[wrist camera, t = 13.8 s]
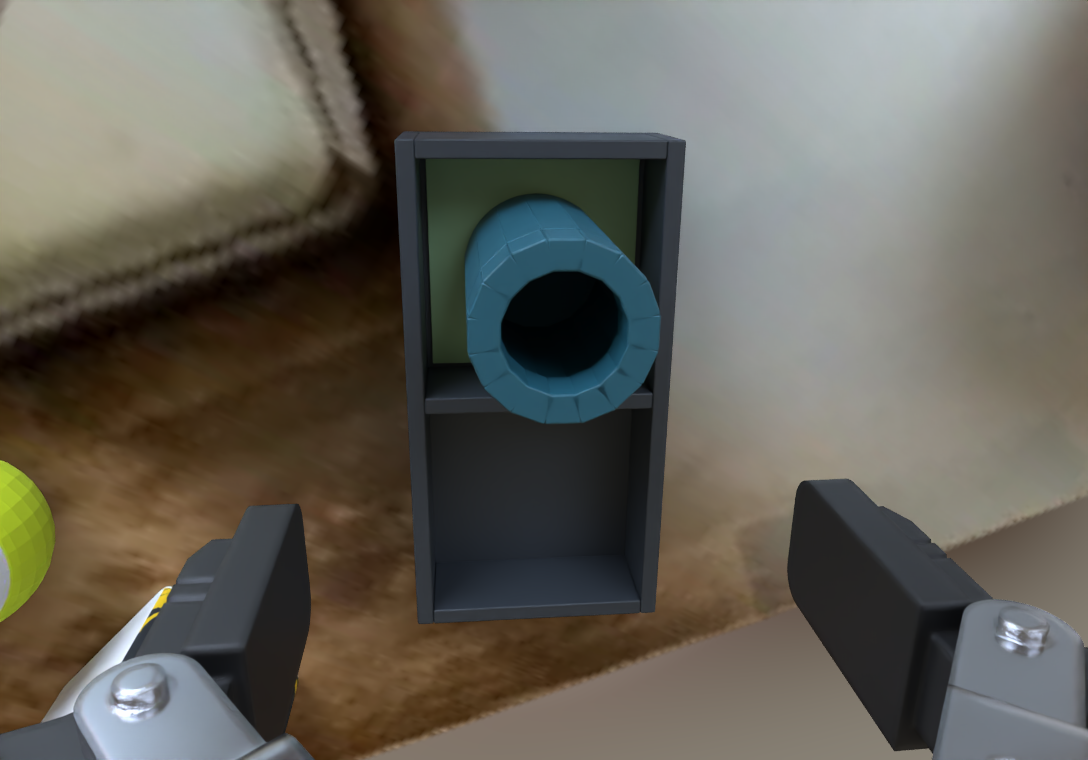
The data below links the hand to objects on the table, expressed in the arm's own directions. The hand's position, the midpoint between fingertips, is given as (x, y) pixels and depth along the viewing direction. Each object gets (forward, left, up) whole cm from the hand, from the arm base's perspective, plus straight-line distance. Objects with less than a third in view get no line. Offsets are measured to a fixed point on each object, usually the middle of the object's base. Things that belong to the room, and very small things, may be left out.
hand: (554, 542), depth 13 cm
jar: (+1, +1, -19) cm, 19 cm away
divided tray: (+1, -4, -19) cm, 20 cm away
